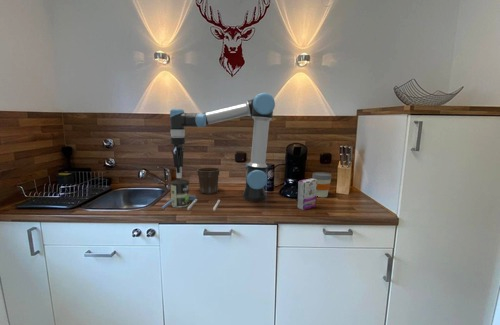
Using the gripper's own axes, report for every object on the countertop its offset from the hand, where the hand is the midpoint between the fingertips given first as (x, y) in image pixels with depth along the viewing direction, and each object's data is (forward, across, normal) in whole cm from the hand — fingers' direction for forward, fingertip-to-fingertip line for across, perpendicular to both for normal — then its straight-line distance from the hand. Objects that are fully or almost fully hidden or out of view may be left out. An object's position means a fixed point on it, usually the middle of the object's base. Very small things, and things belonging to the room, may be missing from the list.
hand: (179, 177), depth 137 cm
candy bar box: (+16, -2, +74) cm, 76 cm away
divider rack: (+16, 0, +7) cm, 18 cm away
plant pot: (+17, -29, +10) cm, 35 cm away
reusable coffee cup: (+16, -27, +88) cm, 94 cm away
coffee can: (+17, 0, 0) cm, 17 cm away
